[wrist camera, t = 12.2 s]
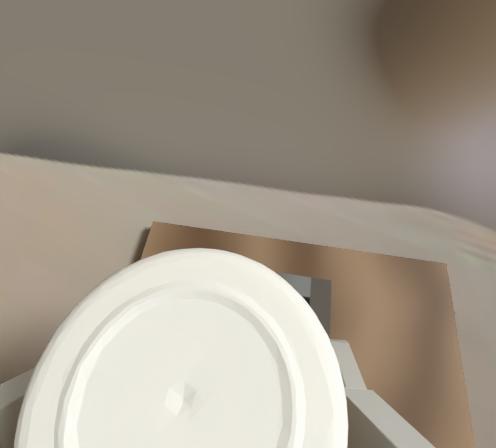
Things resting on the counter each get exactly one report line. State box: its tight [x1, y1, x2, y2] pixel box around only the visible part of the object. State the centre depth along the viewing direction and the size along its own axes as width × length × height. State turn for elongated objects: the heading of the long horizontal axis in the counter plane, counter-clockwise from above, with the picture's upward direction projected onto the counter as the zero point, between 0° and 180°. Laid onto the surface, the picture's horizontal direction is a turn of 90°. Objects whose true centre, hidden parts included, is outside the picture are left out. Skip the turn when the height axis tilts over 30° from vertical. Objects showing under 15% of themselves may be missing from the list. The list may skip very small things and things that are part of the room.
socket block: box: [140, 221, 475, 448], centre depth 15 cm, size 20×13×5 cm, turn 81°
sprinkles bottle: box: [14, 248, 348, 448], centre depth 10 cm, size 5×5×14 cm
